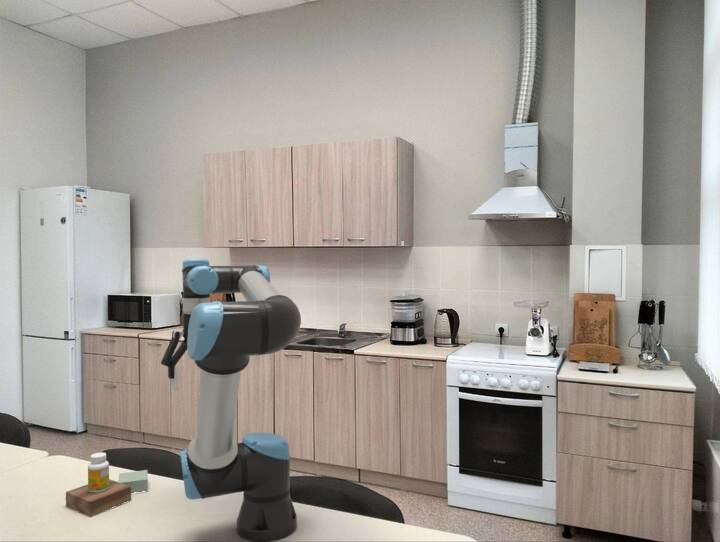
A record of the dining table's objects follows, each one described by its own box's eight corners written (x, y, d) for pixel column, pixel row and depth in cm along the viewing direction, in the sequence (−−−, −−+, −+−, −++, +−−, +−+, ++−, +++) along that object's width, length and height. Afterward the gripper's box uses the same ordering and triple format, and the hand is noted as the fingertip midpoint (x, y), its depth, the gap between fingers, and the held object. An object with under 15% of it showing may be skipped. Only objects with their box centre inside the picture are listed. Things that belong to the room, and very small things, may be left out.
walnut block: (131, 500, 160) (130, 486, 160) (91, 516, 150) (90, 501, 150) (105, 491, 167) (105, 477, 167) (66, 506, 157) (65, 492, 156)
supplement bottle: (83, 490, 157) (83, 456, 157) (100, 484, 162) (100, 450, 162) (96, 494, 155) (96, 459, 154) (113, 487, 159) (113, 453, 159)
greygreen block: (147, 492, 166) (147, 479, 166) (118, 496, 163) (118, 483, 163) (147, 482, 174) (147, 469, 174) (119, 486, 171) (119, 473, 171)
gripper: (229, 309, 173) (229, 378, 174) (148, 314, 157) (149, 390, 157) (241, 310, 168) (242, 381, 168) (159, 316, 151) (160, 395, 152)
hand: (197, 386), depth 163 cm, fingers open, 13 cm apart
